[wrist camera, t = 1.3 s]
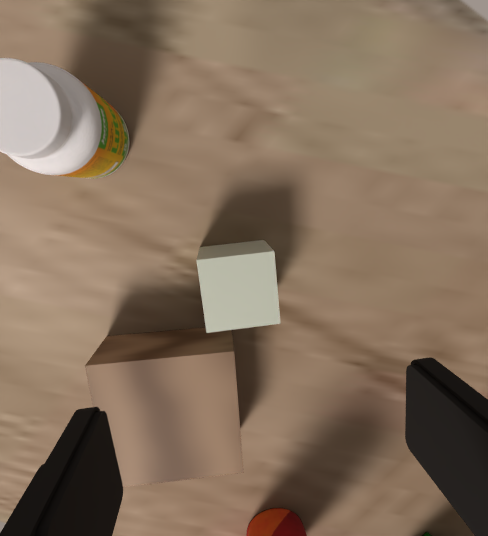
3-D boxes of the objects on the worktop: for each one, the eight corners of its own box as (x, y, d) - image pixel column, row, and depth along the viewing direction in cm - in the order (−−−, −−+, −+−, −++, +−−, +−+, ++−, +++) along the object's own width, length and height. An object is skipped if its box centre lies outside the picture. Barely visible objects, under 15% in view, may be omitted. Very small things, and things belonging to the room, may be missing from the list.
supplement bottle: (143, 162, 25) (99, 147, 15) (73, 189, 25) (-13, 190, 15) (110, 85, 24) (40, 17, 14) (37, 114, 24) (-82, 64, 14)
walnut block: (231, 323, 29) (234, 351, 24) (239, 427, 31) (243, 472, 26) (107, 334, 28) (85, 365, 23) (125, 440, 30) (108, 488, 25)
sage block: (263, 239, 27) (274, 251, 22) (269, 300, 28) (280, 323, 23) (200, 246, 27) (196, 260, 22) (208, 307, 28) (206, 333, 23)
